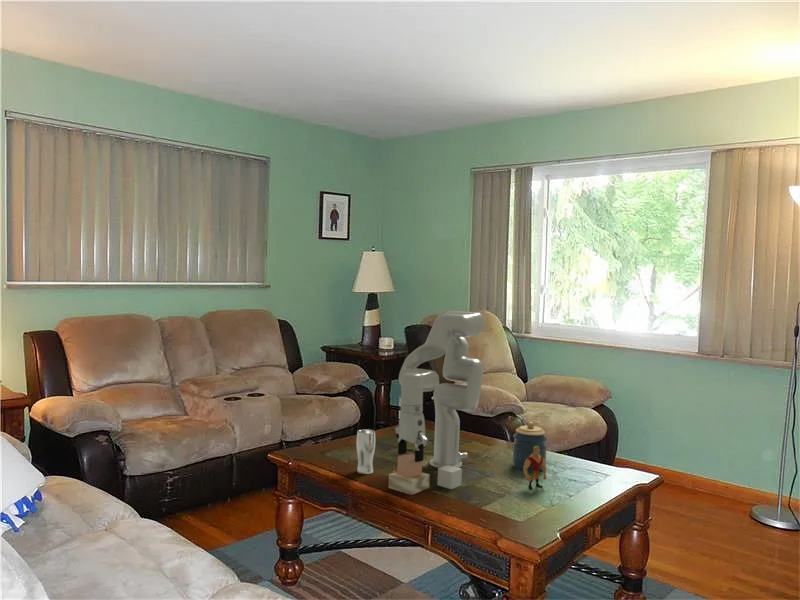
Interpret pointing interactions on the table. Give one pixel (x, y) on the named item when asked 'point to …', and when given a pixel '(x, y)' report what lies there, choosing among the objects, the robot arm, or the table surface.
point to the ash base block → (409, 483)
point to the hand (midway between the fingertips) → (410, 457)
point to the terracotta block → (409, 466)
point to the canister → (528, 444)
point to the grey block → (449, 477)
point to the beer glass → (365, 450)
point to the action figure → (534, 466)
